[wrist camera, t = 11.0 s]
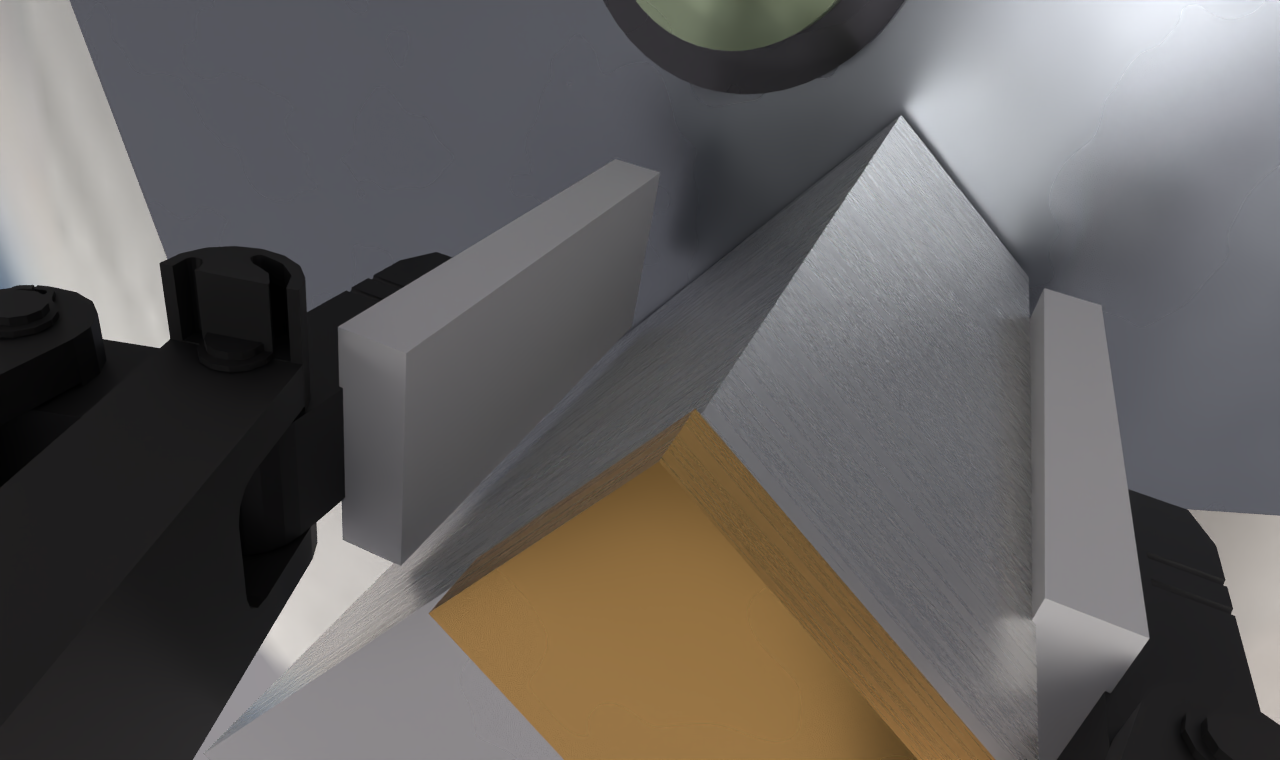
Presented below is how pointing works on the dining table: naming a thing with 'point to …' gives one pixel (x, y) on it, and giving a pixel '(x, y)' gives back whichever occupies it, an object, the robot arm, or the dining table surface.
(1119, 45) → the board
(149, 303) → the dining table surface
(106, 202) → the dining table surface
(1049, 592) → the robot arm
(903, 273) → the banded metal block
